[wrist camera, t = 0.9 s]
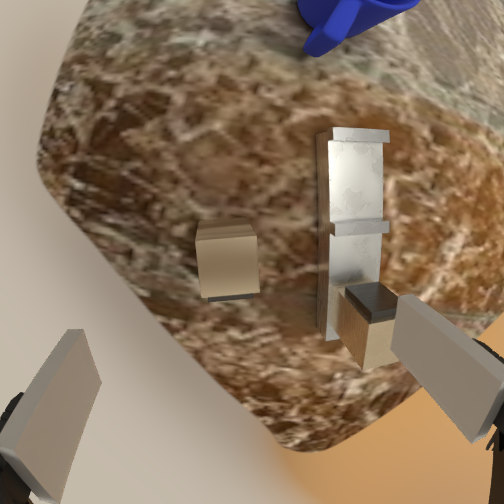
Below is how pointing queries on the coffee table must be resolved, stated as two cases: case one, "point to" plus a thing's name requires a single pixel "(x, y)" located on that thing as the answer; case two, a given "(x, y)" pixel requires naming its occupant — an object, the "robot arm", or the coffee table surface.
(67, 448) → the robot arm
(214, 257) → the tan cardboard carton
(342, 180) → the rail
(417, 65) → the coffee table surface
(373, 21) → the mug
